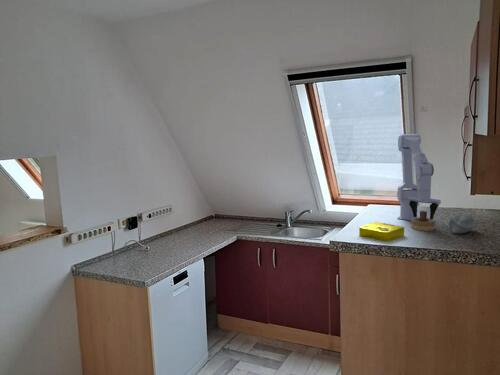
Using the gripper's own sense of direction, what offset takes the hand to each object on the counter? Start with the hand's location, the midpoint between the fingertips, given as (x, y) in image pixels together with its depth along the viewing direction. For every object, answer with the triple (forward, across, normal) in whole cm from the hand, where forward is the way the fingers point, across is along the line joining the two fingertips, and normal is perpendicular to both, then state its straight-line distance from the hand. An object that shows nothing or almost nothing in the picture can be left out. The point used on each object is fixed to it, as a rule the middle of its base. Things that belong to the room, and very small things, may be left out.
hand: (423, 217), depth 195 cm
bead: (+5, 0, 0) cm, 5 cm away
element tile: (+5, -9, -24) cm, 27 cm away
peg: (+5, 0, 0) cm, 5 cm away
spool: (+5, +16, +3) cm, 17 cm away
